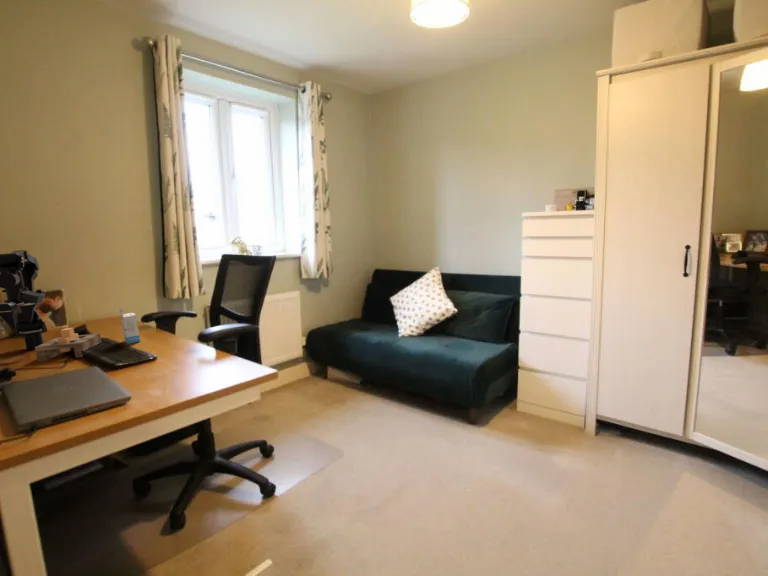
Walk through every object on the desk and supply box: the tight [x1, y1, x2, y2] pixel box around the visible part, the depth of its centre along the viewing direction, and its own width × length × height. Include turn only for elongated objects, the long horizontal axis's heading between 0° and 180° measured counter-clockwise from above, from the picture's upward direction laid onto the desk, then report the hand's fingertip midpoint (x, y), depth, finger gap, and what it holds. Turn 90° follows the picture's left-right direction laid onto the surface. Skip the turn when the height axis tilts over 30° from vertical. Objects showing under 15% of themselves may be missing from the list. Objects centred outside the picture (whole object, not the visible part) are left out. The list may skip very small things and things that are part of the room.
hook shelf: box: [34, 333, 103, 362], centre depth 164 cm, size 14×16×6 cm
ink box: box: [119, 307, 141, 345], centre depth 177 cm, size 8×5×15 cm, turn 39°
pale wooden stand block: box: [58, 327, 79, 353], centre depth 164 cm, size 8×3×8 cm, turn 9°
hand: (22, 325), depth 163 cm, fingers open, 9 cm apart
